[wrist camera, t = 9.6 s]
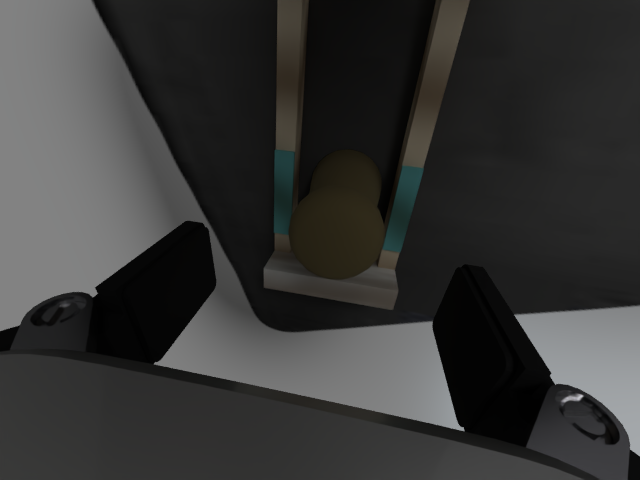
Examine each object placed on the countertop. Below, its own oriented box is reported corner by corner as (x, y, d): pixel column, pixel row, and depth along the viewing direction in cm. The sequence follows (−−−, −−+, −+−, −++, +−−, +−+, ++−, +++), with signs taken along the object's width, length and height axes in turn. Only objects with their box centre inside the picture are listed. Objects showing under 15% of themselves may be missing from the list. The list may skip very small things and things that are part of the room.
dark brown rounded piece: (309, 214, 24) (273, 288, 15) (313, 145, 21) (272, 182, 12) (375, 222, 24) (383, 305, 14) (388, 153, 21) (410, 197, 11)
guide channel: (293, -268, 13) (255, -464, 8) (534, -272, 12) (636, -496, 7) (280, 257, 27) (263, 287, 23) (387, 275, 26) (392, 310, 22)
